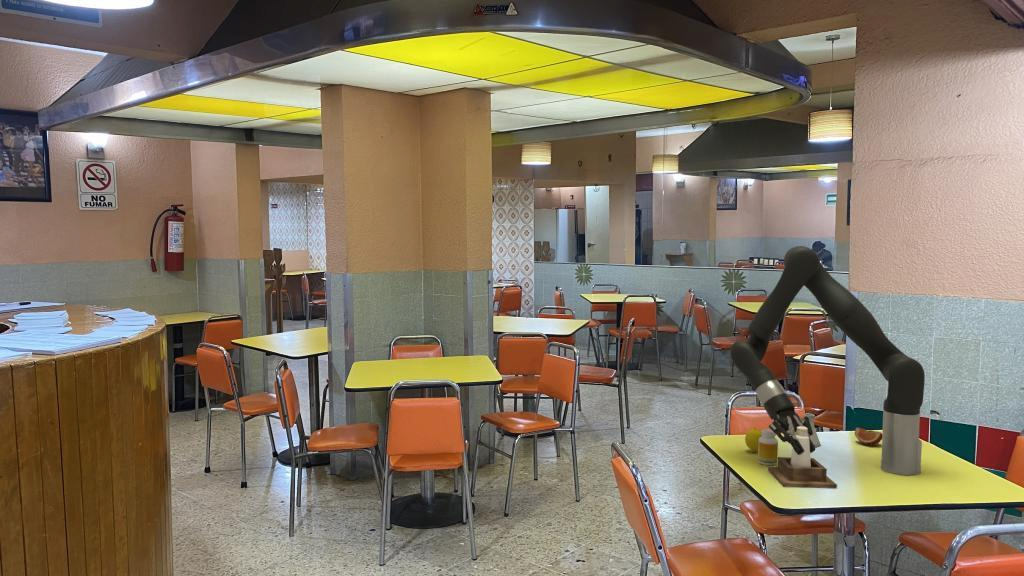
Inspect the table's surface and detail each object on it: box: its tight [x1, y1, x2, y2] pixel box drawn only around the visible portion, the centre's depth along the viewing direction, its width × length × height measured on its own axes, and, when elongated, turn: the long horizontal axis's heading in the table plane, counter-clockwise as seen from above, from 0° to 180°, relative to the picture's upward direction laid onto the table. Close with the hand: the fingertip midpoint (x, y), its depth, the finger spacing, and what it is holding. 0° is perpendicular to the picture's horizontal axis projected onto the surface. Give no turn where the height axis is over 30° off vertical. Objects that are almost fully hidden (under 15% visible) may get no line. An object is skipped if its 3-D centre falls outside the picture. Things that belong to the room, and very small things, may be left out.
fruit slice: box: [854, 427, 882, 446], centre depth 231 cm, size 8×7×5 cm
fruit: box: [744, 426, 762, 453], centre depth 221 cm, size 6×6×8 cm
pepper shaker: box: [790, 426, 811, 467], centre depth 196 cm, size 5×5×11 cm
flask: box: [803, 412, 821, 448], centre depth 230 cm, size 7×7×10 cm
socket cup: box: [767, 456, 838, 489], centre depth 196 cm, size 14×14×4 cm
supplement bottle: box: [757, 428, 779, 466], centre depth 210 cm, size 5×5×10 cm
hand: (807, 452), depth 194 cm, fingers closed on pepper shaker, 3 cm apart
